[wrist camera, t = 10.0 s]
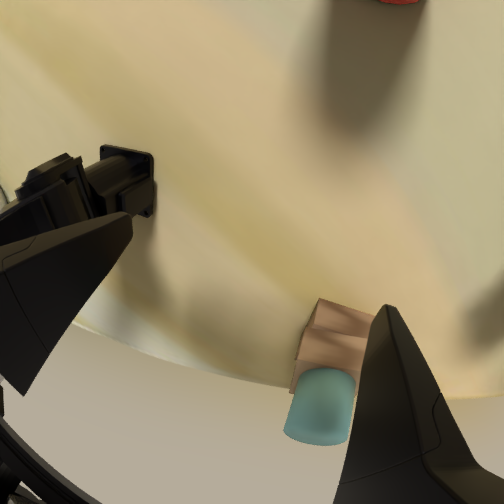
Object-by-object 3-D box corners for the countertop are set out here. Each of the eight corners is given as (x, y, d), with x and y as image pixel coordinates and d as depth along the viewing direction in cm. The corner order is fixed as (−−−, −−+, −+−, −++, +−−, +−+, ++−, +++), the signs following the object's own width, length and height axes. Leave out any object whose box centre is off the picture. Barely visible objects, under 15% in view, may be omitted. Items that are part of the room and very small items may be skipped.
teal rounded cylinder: (291, 387, 24) (276, 435, 20) (309, 361, 21) (294, 417, 17) (341, 401, 23) (331, 449, 19) (366, 377, 20) (358, 433, 16)
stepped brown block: (297, 364, 27) (288, 392, 24) (305, 326, 24) (297, 359, 21) (353, 375, 26) (349, 404, 23) (372, 339, 22) (370, 372, 19)
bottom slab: (301, 334, 30) (294, 359, 27) (319, 296, 26) (313, 323, 23) (352, 349, 29) (349, 376, 26) (377, 315, 25) (376, 343, 22)
